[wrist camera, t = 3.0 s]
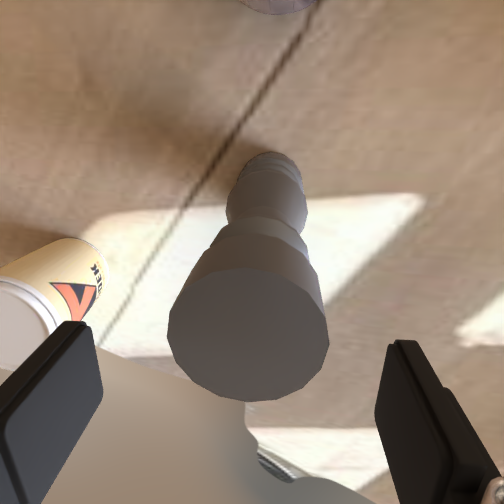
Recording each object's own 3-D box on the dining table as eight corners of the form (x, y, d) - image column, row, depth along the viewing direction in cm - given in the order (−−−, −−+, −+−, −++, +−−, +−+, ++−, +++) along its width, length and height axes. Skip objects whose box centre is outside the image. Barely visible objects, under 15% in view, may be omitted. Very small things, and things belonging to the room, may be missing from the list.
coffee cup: (111, 312, 43) (52, 385, 32) (35, 290, 43) (-50, 357, 32) (121, 244, 39) (59, 301, 28) (38, 220, 39) (-58, 268, 28)
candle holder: (286, 223, 37) (291, 427, 14) (230, 200, 36) (140, 372, 13) (312, 167, 34) (371, 303, 11) (253, 141, 34) (190, 230, 11)
